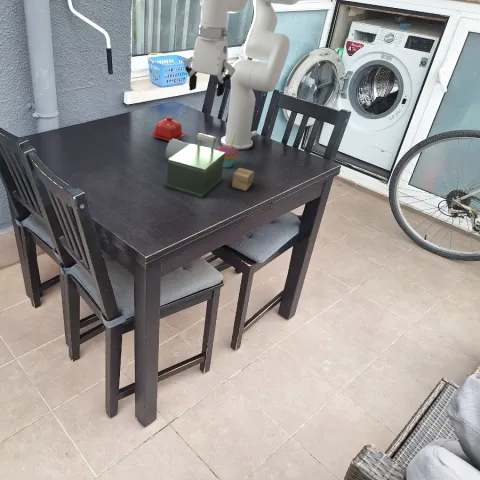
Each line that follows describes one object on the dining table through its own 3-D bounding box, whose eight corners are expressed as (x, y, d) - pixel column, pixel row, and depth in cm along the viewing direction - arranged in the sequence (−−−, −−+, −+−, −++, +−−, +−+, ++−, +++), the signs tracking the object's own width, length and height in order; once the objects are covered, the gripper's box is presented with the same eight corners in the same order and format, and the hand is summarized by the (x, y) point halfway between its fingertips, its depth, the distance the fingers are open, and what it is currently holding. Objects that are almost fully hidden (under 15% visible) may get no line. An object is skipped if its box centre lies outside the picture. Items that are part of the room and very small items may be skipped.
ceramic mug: (185, 167, 157) (186, 147, 153) (164, 162, 160) (165, 141, 156) (197, 157, 165) (199, 138, 161) (178, 152, 168) (179, 133, 164)
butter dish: (187, 136, 182) (189, 115, 177) (173, 144, 174) (174, 123, 169) (163, 129, 187) (164, 109, 182) (148, 138, 179) (149, 117, 174)
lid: (190, 145, 151) (192, 129, 148) (225, 154, 146) (227, 137, 142) (167, 161, 139) (168, 144, 136) (204, 171, 134) (206, 153, 131)
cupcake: (239, 162, 163) (243, 130, 156) (234, 171, 156) (239, 139, 149) (216, 158, 165) (219, 127, 158) (210, 167, 158) (214, 135, 151)
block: (237, 181, 150) (239, 167, 147) (251, 185, 148) (253, 171, 145) (231, 186, 146) (233, 173, 143) (245, 191, 144) (248, 177, 141)
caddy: (187, 170, 155) (189, 146, 150) (221, 180, 150) (224, 155, 145) (166, 186, 145) (167, 161, 140) (201, 197, 139) (204, 171, 134)
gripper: (244, 35, 129) (236, 95, 139) (192, 28, 137) (188, 85, 146) (233, 38, 124) (225, 100, 133) (180, 30, 131) (176, 89, 141)
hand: (205, 92), depth 140 cm, fingers open, 9 cm apart
